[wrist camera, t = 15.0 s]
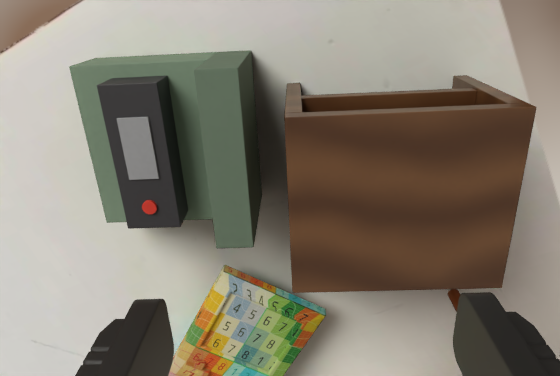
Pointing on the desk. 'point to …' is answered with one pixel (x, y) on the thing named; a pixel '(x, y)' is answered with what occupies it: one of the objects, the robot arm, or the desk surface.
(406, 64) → the desk surface
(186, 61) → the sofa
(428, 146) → the shelf
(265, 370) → the puzzle game
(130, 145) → the remote
